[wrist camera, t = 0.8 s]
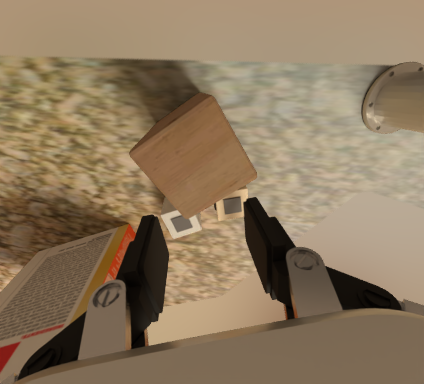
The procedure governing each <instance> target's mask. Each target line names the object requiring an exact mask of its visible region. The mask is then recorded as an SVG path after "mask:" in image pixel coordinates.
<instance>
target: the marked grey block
mask: <svg viewBox="0 0 424 384" xmlns="http://www.w3.org/2000/svg"><path fill="white" fill-rule="evenodd" d="M161 217H162V219H163V221H164V223H165V224H166V226H167V228H168V230H169V232H170V234H171V236H172V237H173V239H175V238H178V237H181V236H184V235H187V234H190V233H194V232H197V231H200V230H202V226H201V215H200V212H199V213H198V214H196V215H194V216H193V217H191V218H189V219H185V218H184V217H183V216H182V215H181V214H180V213H179V211H178V210H177V209H176V208H175V207H174V206H173V205H172V203H171V202H170V201H169V200H168V199H167V198H166V197H165V199H164V203H163V207H162V212H161Z"/></svg>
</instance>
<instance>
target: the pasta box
mask: <svg viewBox="0 0 424 384" xmlns="http://www.w3.org/2000/svg"><path fill="white" fill-rule="evenodd" d="M135 236H136V234H135V232H134V231H133V229H132V227H131V226H130V224H126V225H123V226H120V227H117V228H113V229H110V230H107V231H104V232H100V233H97V234H94V235H91V236H87V237H84V238H81V239H78V240H74V241H71V242H68V243H65V244H61V245H58V246H55V247H52V248H49V249H45V250H42V251H39V252H37V254H36V255H35V256H34V257H33V258H32V259H31V260H30V261H29V262H28V263H27V264H26V265H25V266H24V268H23V269H22V270H21V271H20V272H19V273H18V274H17V275H16V276H15V277H14V278H13V279H12V280H11V282H10V283H9V284H8V285H7V286H6V287H5V288H4V289H3V290H2V291H1V292H0V383H1V382H2V381H3V380H5V379H6V378H8V377H9V376H10V375H12V374H13V373H15V374H16V375H18V374H19V373H20V371H21V369H22V368H23V366H24V364H25V363H26V362H27V360H28V359H29V358H30V357H31V356H32V355H33V354H34V353H35V352H36V351H37V350H38V349H39V348H41V347H42V346H43V345H44V344H46V343H47V342H48V341H49V340H51V339H52V338H53V337H54V336H56V335H57V334H58V333H59V332H61V331H62V330H63V329H64V328H66V327H67V326H68V325H69V324H71V323H72V322H73V321H74V320H76V319H77V318H78V317H79V316H81V315H82V314H83V313H84V312H86V311H87V307H88V302H89V299H90V297H91V295H92V294H93V292H94V291H95V290H96V289H97V288H98V287H99V286H101V285H102V284H104V283H106V282H108V281H111V280H115V278H116V276H117V273H118V271H119V268H120V265H121V263H122V260H123V258H124V255H125V252H126V250H127V247H128V245H129V243H130V242H131V241H134V238H135Z"/></svg>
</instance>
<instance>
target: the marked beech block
mask: <svg viewBox="0 0 424 384" xmlns="http://www.w3.org/2000/svg"><path fill="white" fill-rule="evenodd" d="M246 199H248V190H247V187H246V185H245V186H243V187H241V188H240V189H238V190H236V191H235V192H233V193H231V194H230V195H228V196H226V197H225V198H223V199H221V200H220V201H218V202H216V203H215V204H214V207H215V210H216V211H217V216H218V220H219V221H221V220H227V219H233V218H239V217H244V208H243V202H245V201H246Z"/></svg>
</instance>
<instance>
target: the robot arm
mask: <svg viewBox="0 0 424 384" xmlns="http://www.w3.org/2000/svg"><path fill="white" fill-rule="evenodd" d="M362 113H363V120H364V123H365V125H366V126H367V127H368V128H369V129H370V130H371V131H374V132H377V133H381V134H387V133H392V132H395V131H398V130H400V129H405V130H411V131H416V132H422V133H424V65H422V64H420V63H417V62H406V63H401V64H398V65H395V66H393V67H391V68H389V69H388V70H386V71H385V72H384V73H383V74H381V75H380V76H379V77H378V79H377V80H376V81H375V82H374V83H373V85H372V86H371V88H370V89H369V91H368V93H367V95H366V98H365V100H364V104H363V112H362ZM243 208H244V222H245V237H246V242H247V245H248V248H249V251H250V253H251V256H252V258H253V261H254V264H255V266H256V269H257V272H258V274H259V277H260V279H261V282H262V285H263V288H264V290H265V292H266V293H270V296H271V298H272V300H275V299H277V300H278V301H280V302H282V303H283V304H284V311H285V318H286V320H284V321H278V322H273V323H267V324H262V325H257V326H251V327H245V328H240V329H235V330H230V331H224V332H219V333H213V334H208V335H203V336H198V337H193V338H187V339H182V340H176V341H172V342H166V343H161V344H156V345H151V346H149V344H148V335H147V334H148V333H147V327H148V326H149V325H150V324H151V322H156V321H158V317H159V313H162V311H163V304H164V295H165V287H166V278H167V270H168V261H169V252H168V248H167V245H166V242H165V239H164V236H163V232H162V229H161V226H160V223H159V220H158V217H157V216H156V217H154V215H147V216H143V217H142V219H141V222H140V225H139V227H138V230H137V233H136V236H135V238H134V241H131V242H130V243H129V245H128V247H127V250H126V252H125V255H124V258H123V260H122V263H121V265H120V268H119V271H118V273H117V276H116V278H115V280H111V281H108V282H106V283H104V284H102V285H101V286H99V287H98V288H97V289H96V290H95V291H94V292H93V294H92V295H91V297H90V299H89V302H88V307H87V311H86V312H84V313H83V314H82V315H81V316H79V317H78V318H77V319H76V320H74V321H73V322H72V323H71V324H69V325H68V326H67V327H66V328H64V329H63V330H62V331H61V332H59V333H58V334H57V335H56V336H54V337H53V338H52V339H51V340H49V341H48V342H47V343H46V344H44V345H43V346H42V347H41V348H39V349H38V350H37V351H36V352H35V353H34V354H33V355H32V356H31V357H30V358H29V359H28V360H27V362H26V363H25V364H24V366H23V368H22V369H21V371H20V373H19V374H18V375H16V374H15V373H13V374H12V375H10V376H9V377H8V378H6V379H5V380H3V381H2V382H1V383H0V384H424V306H423V305H420V304H417V303H414V302H411V301H408V300H405V299H404V300H403V301H402V302H401V301H398V300H397V299H396V298H395V297H394V296H393V295H392V294H390V293H389V292H388V291H386V290H385V289H383V288H380V287H378V286H376V285H373V284H371V283H368V282H366V281H363V280H360V279H358V278H355V277H353V276H350V275H347V274H345V273H342V272H340V271H337V270H335V269H332V268H329V267H327V266H325V265H324V262H323V260H322V258H321V257H320V255H319V254H318V253H316V252H315V251H313V250H311V249H308V248H304V247H296V246H295V245H294V243H293V242H292V240H291V239H290V237H289V236H288V235H287V233H286V232H285V230H284V229H283V227H282V226H281V224H280V223H279V221H278V220H277V218H276V217H269V216H268V215H267V213H266V212H265V210H264V208H263V207H262V205H261V204H260V202H259V201H258V199H257V198H256V197H254V198H248V199H246V201H245V202H243Z"/></svg>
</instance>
